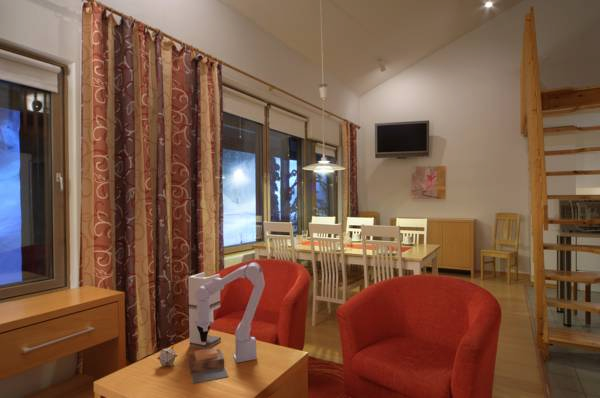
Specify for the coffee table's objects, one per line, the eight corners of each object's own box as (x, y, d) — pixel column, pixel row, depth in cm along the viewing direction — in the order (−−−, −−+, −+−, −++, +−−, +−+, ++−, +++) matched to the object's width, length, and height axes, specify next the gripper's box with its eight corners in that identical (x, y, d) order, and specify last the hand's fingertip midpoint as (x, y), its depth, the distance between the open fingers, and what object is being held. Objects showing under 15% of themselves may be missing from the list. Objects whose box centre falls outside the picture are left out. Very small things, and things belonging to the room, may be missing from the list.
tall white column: (206, 349, 180) (205, 278, 180) (189, 346, 185) (188, 276, 184) (220, 341, 191) (219, 273, 190) (204, 337, 195) (203, 272, 195)
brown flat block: (219, 357, 172) (219, 348, 172) (224, 367, 162) (224, 358, 162) (188, 362, 167) (188, 354, 166) (191, 373, 156) (191, 364, 156)
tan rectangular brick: (215, 351, 169) (215, 347, 168) (217, 357, 163) (217, 352, 163) (194, 355, 165) (194, 351, 165) (196, 360, 160) (196, 356, 160)
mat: (224, 367, 162) (224, 366, 162) (228, 376, 153) (228, 376, 153) (191, 373, 156) (191, 373, 156) (193, 383, 148) (193, 383, 148)
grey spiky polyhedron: (169, 375, 163) (168, 363, 157) (153, 367, 164) (151, 355, 158) (181, 358, 170) (181, 346, 164) (165, 350, 171) (165, 338, 165)
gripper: (192, 308, 175) (193, 337, 176) (196, 318, 162) (196, 349, 162) (207, 307, 178) (208, 335, 178) (212, 316, 165) (212, 346, 165)
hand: (203, 341), depth 170 cm, fingers closed
